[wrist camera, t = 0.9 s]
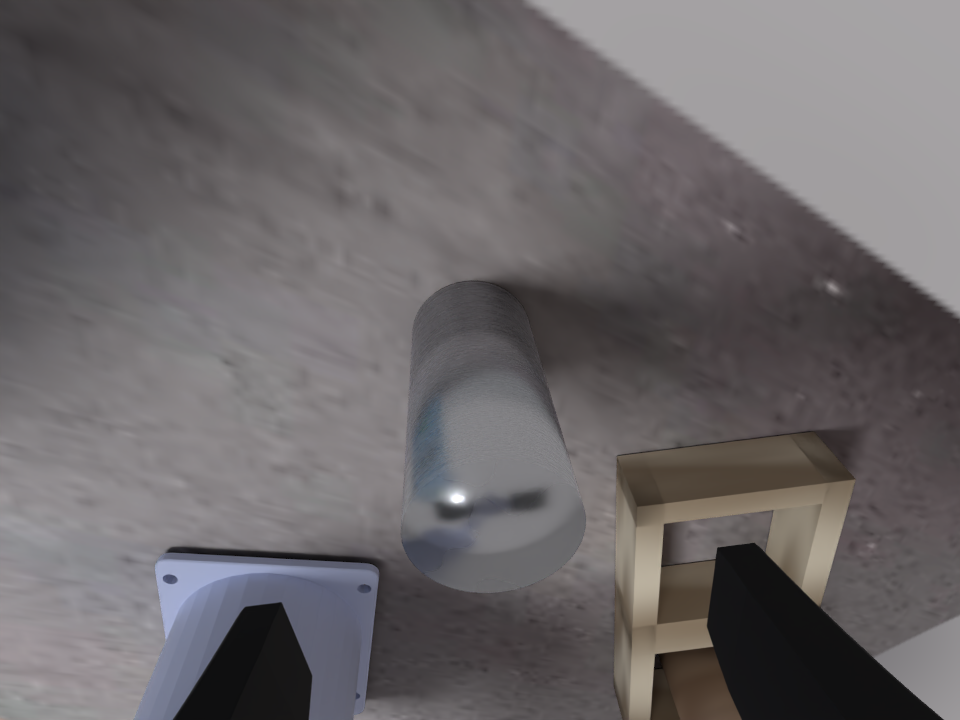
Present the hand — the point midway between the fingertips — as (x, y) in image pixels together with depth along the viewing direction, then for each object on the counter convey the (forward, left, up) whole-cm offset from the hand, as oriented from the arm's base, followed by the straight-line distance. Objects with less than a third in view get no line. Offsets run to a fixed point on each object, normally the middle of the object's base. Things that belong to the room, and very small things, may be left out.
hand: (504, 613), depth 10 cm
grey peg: (0, 0, -10) cm, 10 cm away
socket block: (-10, -11, -10) cm, 18 cm away
